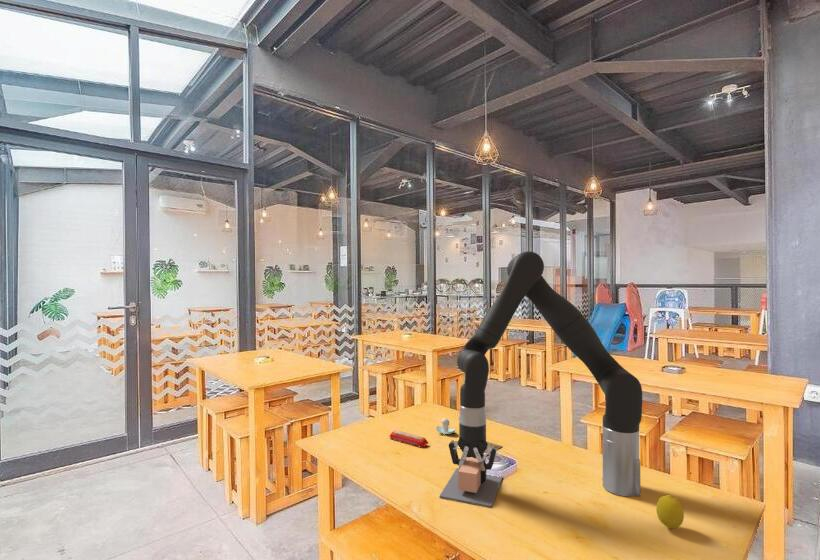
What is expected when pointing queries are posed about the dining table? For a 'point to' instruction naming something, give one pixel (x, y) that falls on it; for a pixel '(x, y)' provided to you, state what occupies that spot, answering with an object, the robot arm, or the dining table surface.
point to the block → (469, 475)
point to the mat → (482, 496)
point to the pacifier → (445, 427)
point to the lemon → (670, 511)
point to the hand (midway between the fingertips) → (472, 480)
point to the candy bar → (409, 438)
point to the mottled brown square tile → (492, 446)
